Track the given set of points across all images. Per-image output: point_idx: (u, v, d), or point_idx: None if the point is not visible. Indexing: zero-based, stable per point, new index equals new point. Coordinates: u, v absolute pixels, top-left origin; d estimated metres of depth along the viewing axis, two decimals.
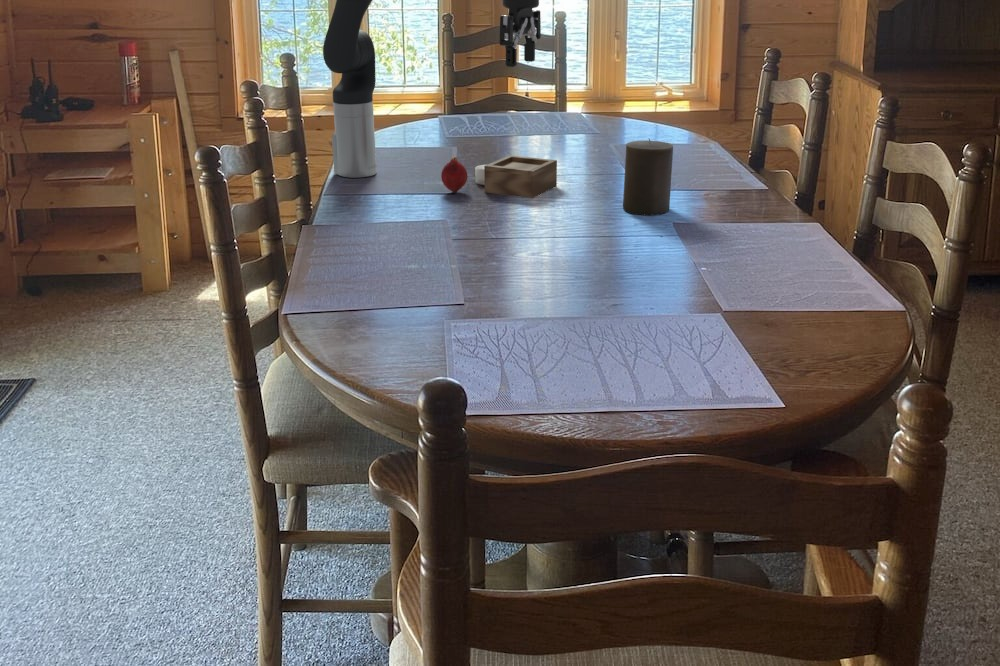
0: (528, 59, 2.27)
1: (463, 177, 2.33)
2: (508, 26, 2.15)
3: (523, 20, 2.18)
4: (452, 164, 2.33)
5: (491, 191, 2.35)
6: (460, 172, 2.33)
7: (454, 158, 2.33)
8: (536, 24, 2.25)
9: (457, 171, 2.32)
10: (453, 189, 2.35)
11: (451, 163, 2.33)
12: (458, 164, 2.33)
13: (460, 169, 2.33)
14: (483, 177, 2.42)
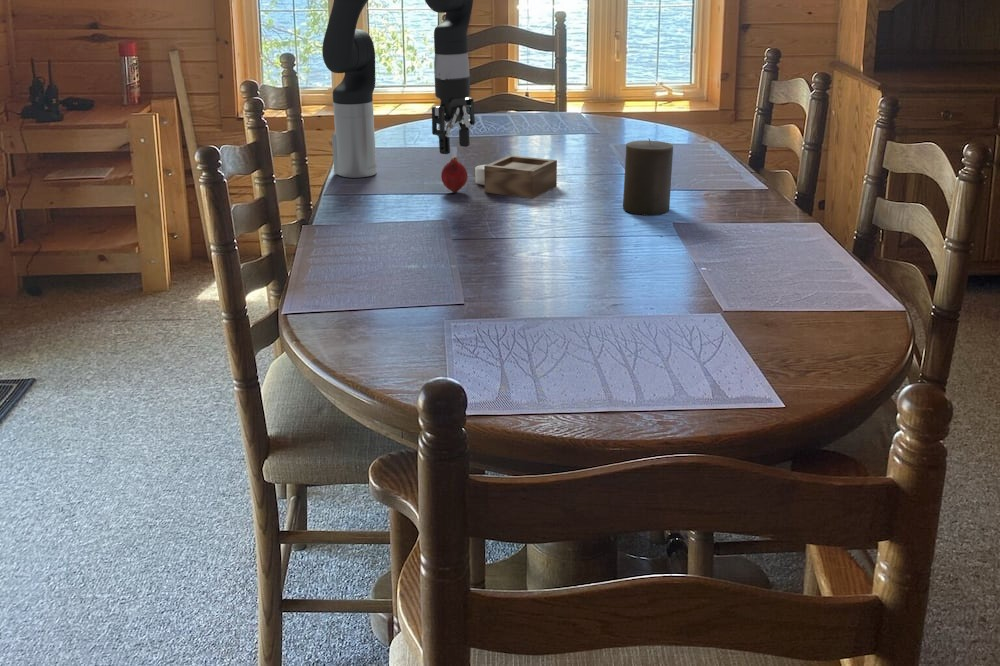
0: (463, 144, 2.36)
1: (463, 177, 2.33)
2: (439, 117, 2.24)
3: (455, 110, 2.27)
4: (452, 164, 2.33)
5: (491, 191, 2.35)
6: (460, 172, 2.33)
7: (454, 158, 2.33)
8: (470, 111, 2.34)
9: (457, 171, 2.32)
10: (453, 189, 2.35)
11: (451, 163, 2.33)
12: (458, 164, 2.33)
13: (460, 169, 2.33)
14: (483, 177, 2.42)
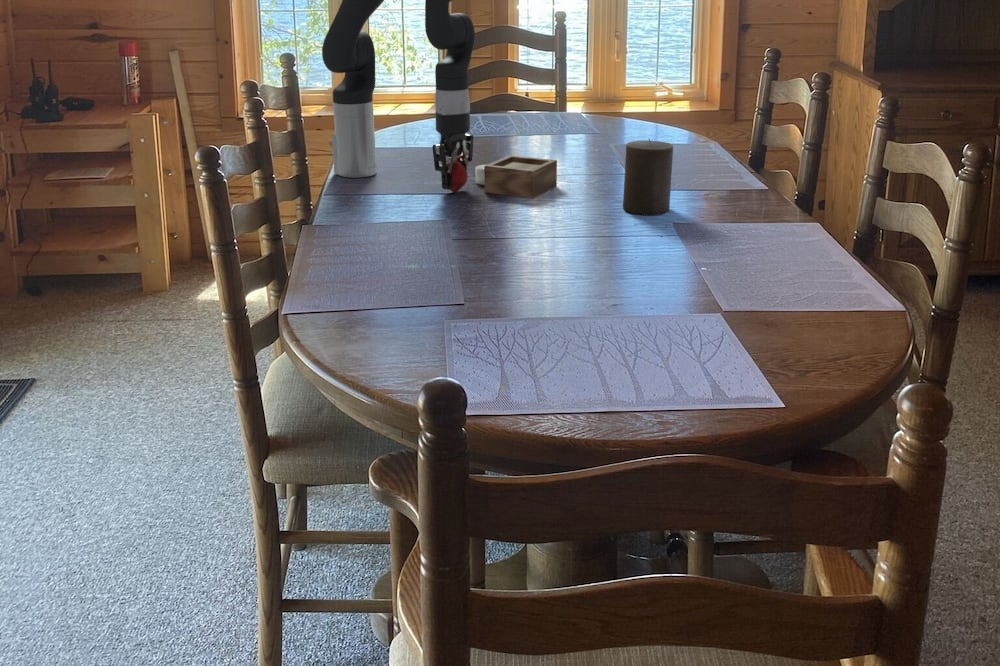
0: None
1: (463, 177, 2.33)
2: (441, 155, 2.27)
3: (455, 145, 2.30)
4: None
5: (491, 191, 2.35)
6: (460, 172, 2.33)
7: None
8: (468, 147, 2.37)
9: (457, 171, 2.32)
10: (453, 189, 2.35)
11: None
12: (458, 164, 2.33)
13: (460, 169, 2.33)
14: (483, 177, 2.42)
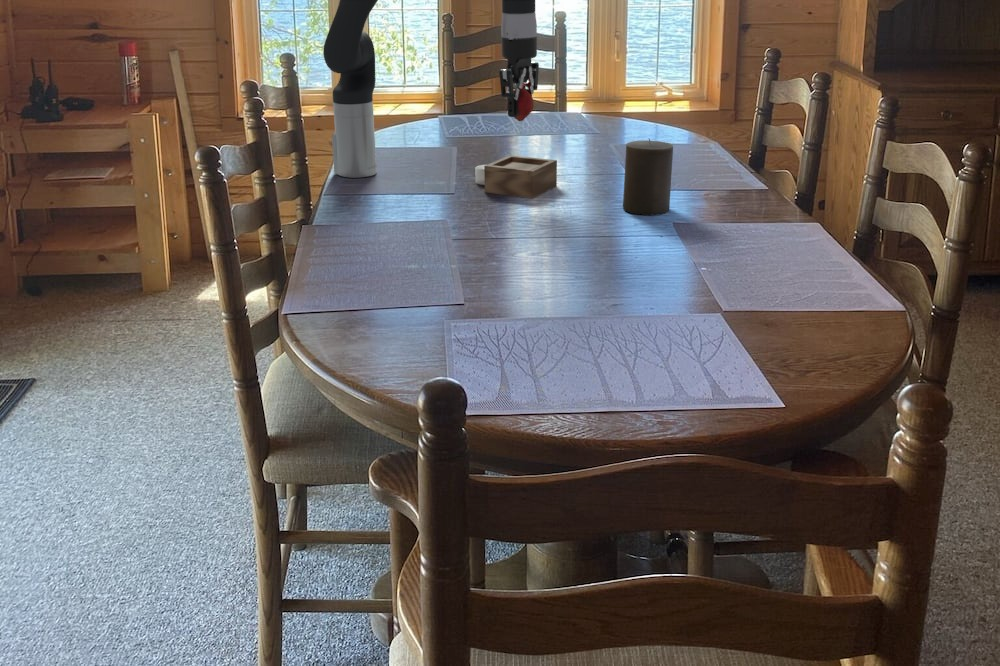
0: None
1: (530, 105, 2.29)
2: (508, 80, 2.23)
3: (522, 71, 2.26)
4: (519, 91, 2.29)
5: (491, 191, 2.35)
6: (526, 99, 2.29)
7: None
8: (534, 75, 2.33)
9: (524, 98, 2.28)
10: (519, 117, 2.31)
11: None
12: (524, 91, 2.29)
13: (526, 96, 2.29)
14: (483, 177, 2.42)
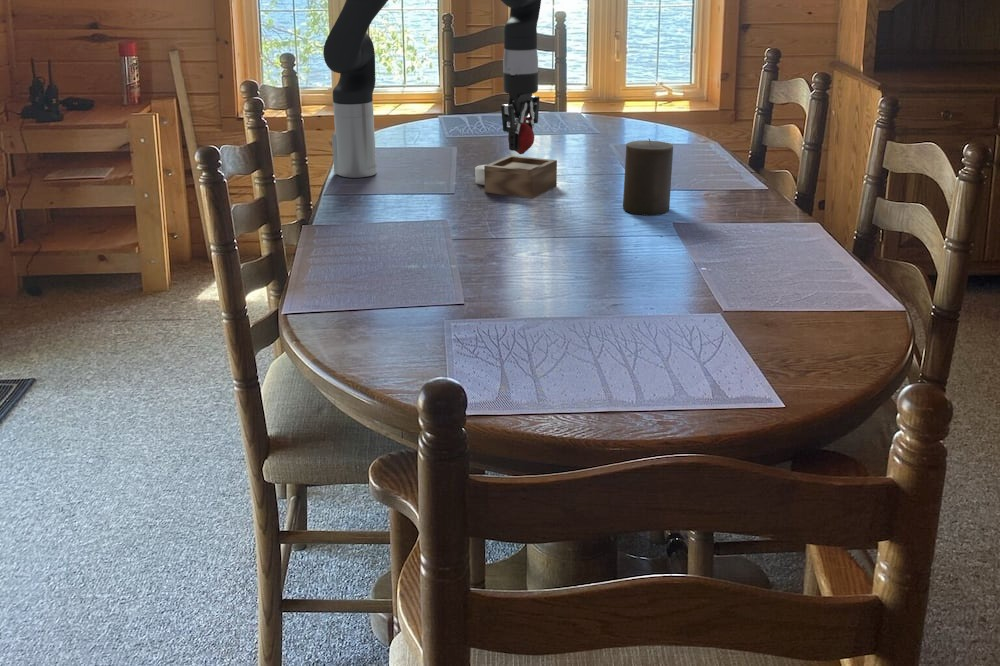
0: None
1: (531, 139, 2.32)
2: (509, 115, 2.26)
3: (523, 106, 2.29)
4: (520, 125, 2.32)
5: (491, 191, 2.35)
6: (527, 133, 2.32)
7: None
8: (534, 109, 2.36)
9: (525, 132, 2.32)
10: (520, 151, 2.34)
11: None
12: (525, 125, 2.32)
13: (527, 131, 2.32)
14: (483, 177, 2.42)
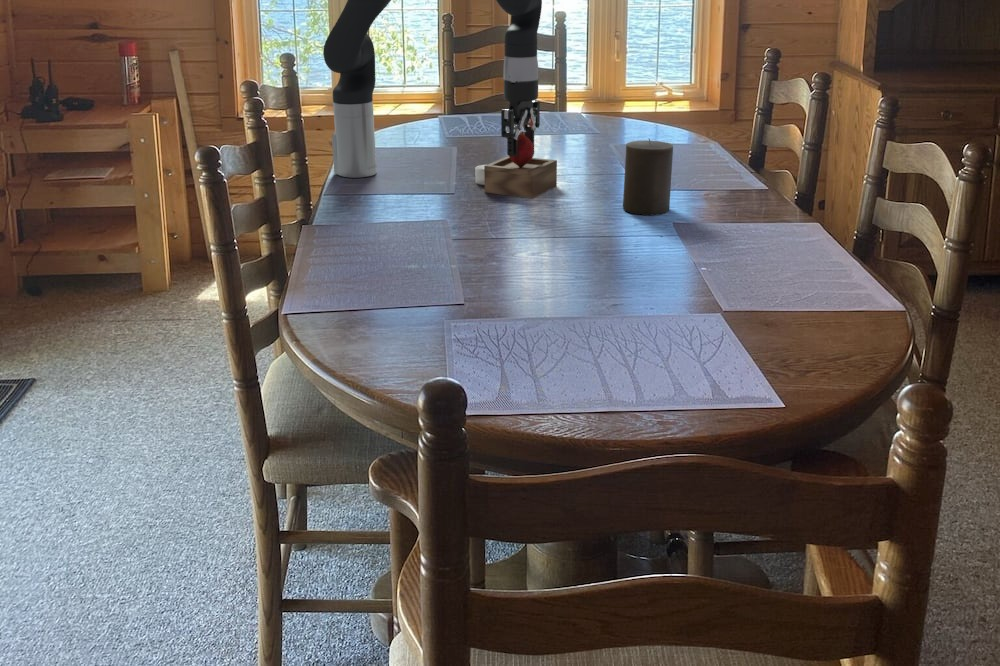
0: None
1: (531, 152, 2.33)
2: (509, 120, 2.26)
3: (523, 112, 2.30)
4: (520, 139, 2.33)
5: (491, 191, 2.35)
6: (528, 147, 2.33)
7: (522, 133, 2.34)
8: (535, 114, 2.37)
9: (525, 146, 2.33)
10: (520, 164, 2.35)
11: (519, 138, 2.33)
12: (526, 139, 2.33)
13: (528, 144, 2.33)
14: (483, 177, 2.42)
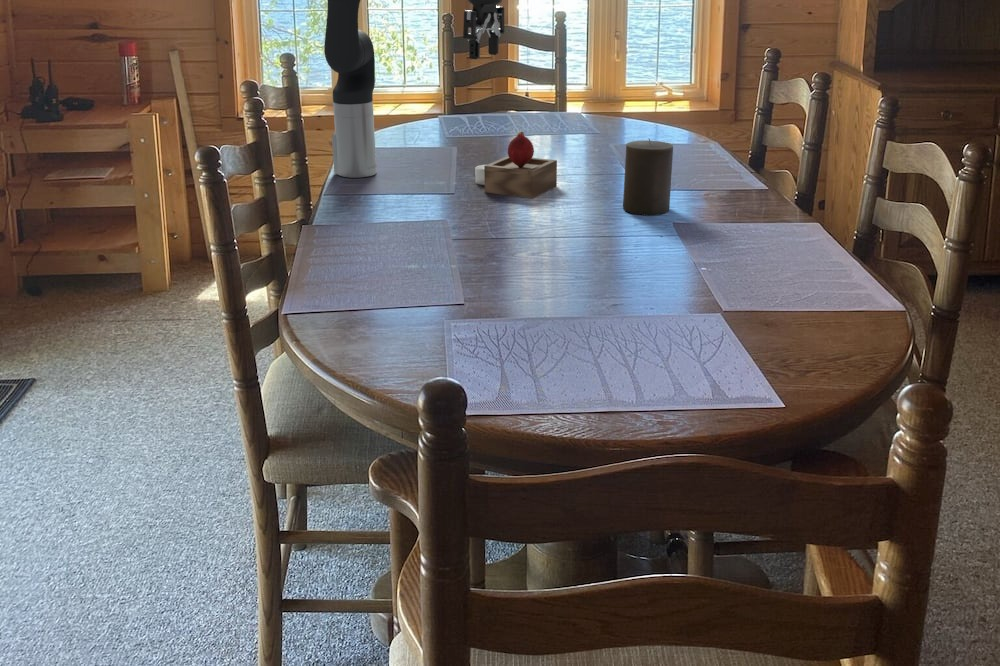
0: (492, 52, 2.40)
1: (530, 152, 2.34)
2: (471, 21, 2.28)
3: (486, 15, 2.31)
4: (520, 138, 2.33)
5: (491, 191, 2.35)
6: (527, 147, 2.33)
7: (521, 133, 2.34)
8: (500, 19, 2.39)
9: (525, 145, 2.33)
10: (520, 164, 2.35)
11: (518, 138, 2.33)
12: (525, 139, 2.33)
13: (527, 144, 2.33)
14: (483, 177, 2.42)
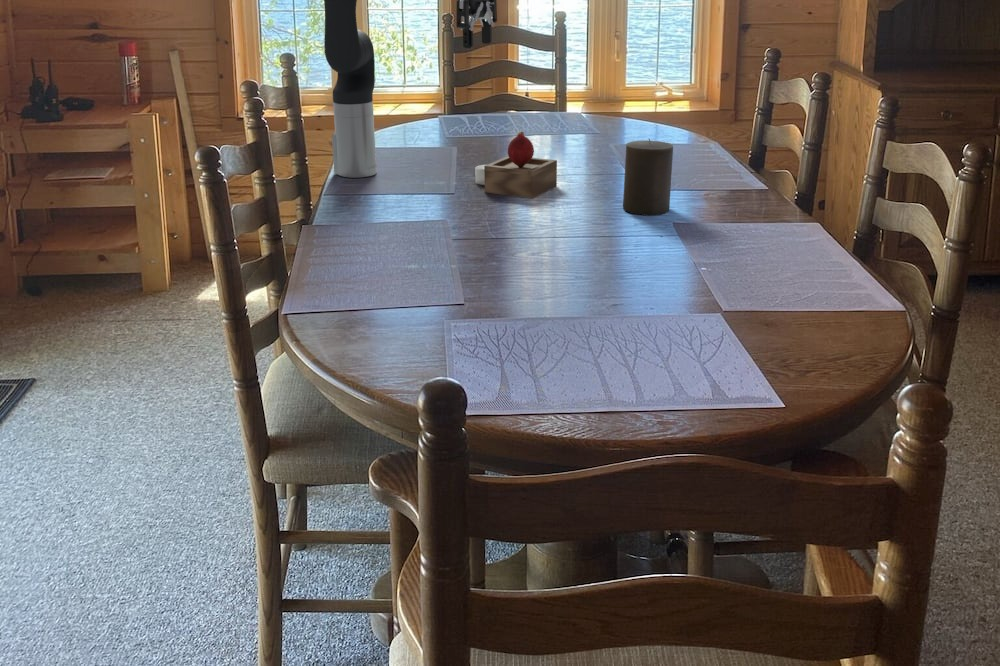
0: (485, 41, 2.41)
1: (530, 152, 2.34)
2: (464, 9, 2.29)
3: (479, 4, 2.33)
4: (520, 138, 2.33)
5: (491, 191, 2.35)
6: (527, 147, 2.33)
7: (521, 133, 2.34)
8: (492, 8, 2.40)
9: (525, 145, 2.33)
10: (520, 164, 2.35)
11: (518, 138, 2.33)
12: (525, 139, 2.33)
13: (527, 144, 2.33)
14: (483, 177, 2.42)
